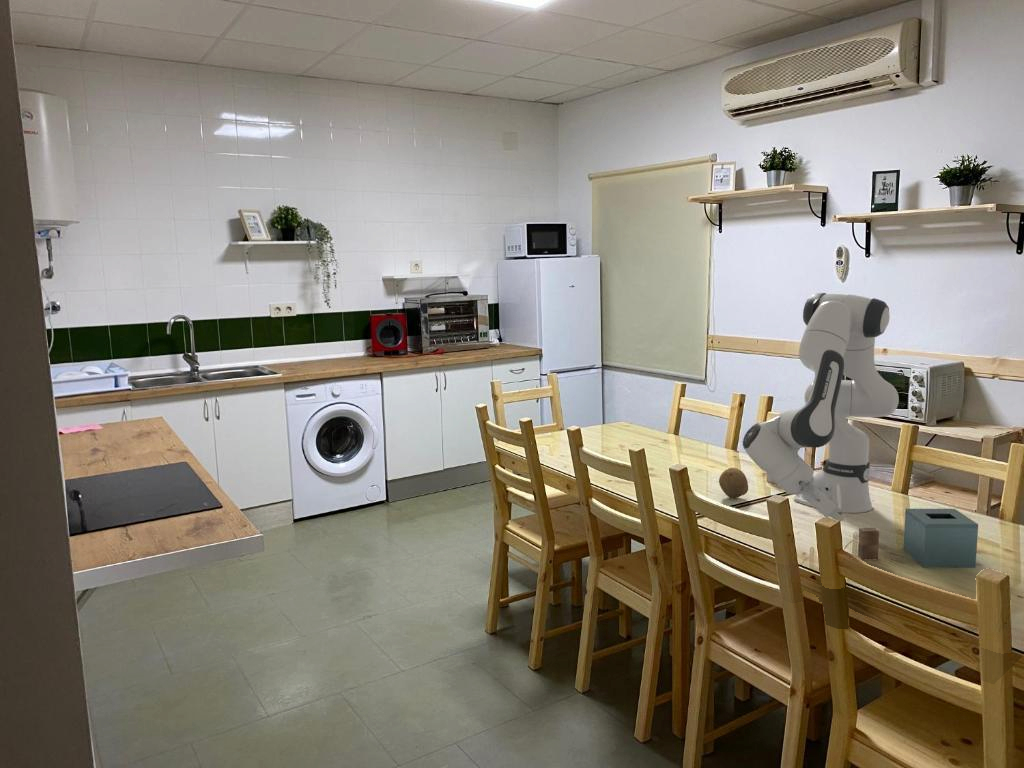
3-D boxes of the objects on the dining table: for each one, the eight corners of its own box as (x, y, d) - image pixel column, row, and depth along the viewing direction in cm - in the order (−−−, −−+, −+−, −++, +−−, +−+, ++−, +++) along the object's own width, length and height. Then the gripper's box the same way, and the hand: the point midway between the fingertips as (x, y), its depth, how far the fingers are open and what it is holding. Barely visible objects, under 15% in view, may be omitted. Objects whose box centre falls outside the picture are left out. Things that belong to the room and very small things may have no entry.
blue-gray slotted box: (923, 567, 186) (925, 524, 184) (903, 549, 198) (905, 508, 196) (975, 567, 184) (978, 524, 183) (952, 549, 196) (954, 508, 195)
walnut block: (861, 559, 192) (862, 531, 191) (857, 556, 194) (859, 527, 193) (877, 559, 191) (879, 531, 190) (874, 556, 194) (875, 527, 193)
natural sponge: (717, 493, 250) (717, 464, 249) (745, 494, 249) (746, 464, 247) (720, 501, 242) (720, 471, 240) (749, 502, 240) (749, 471, 239)
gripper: (816, 479, 181) (858, 519, 181) (794, 458, 201) (831, 494, 201) (796, 497, 182) (838, 537, 182) (776, 474, 202) (813, 510, 202)
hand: (834, 514), depth 192 cm, fingers open, 8 cm apart
